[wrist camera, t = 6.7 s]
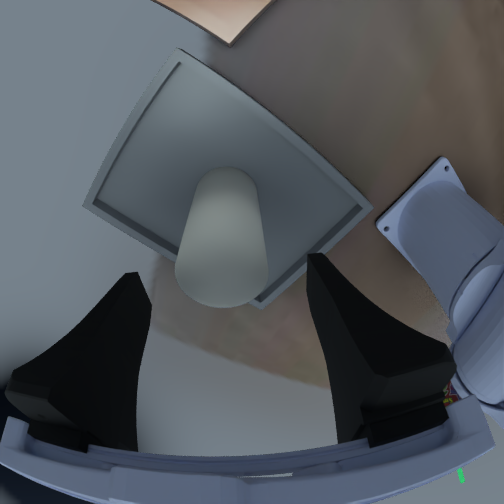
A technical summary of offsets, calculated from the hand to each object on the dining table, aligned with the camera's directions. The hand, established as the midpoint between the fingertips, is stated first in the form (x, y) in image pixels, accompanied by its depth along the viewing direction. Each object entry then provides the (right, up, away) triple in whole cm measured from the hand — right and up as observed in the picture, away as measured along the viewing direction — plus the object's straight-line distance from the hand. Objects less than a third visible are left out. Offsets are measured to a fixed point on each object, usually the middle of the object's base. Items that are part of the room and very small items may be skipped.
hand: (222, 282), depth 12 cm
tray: (-1, +5, +7) cm, 9 cm away
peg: (0, +5, +7) cm, 8 cm away
